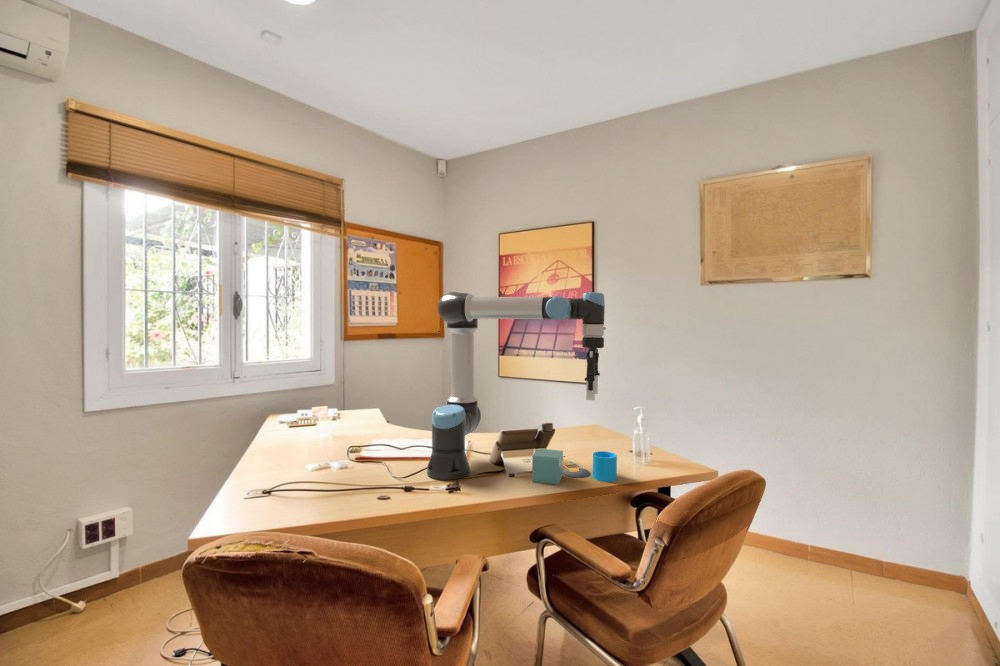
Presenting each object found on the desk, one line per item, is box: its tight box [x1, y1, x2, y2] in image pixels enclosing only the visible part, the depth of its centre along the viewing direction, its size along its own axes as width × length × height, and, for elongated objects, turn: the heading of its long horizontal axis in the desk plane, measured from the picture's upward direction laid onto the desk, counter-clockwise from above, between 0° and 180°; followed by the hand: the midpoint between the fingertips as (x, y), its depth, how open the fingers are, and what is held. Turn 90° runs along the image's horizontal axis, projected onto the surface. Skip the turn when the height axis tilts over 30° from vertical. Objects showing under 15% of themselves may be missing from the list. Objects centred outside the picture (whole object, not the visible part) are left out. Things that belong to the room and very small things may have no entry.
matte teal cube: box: [531, 448, 564, 486], centre depth 161 cm, size 9×9×9 cm
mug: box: [592, 450, 618, 483], centre depth 164 cm, size 12×8×8 cm
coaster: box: [563, 467, 591, 479], centre depth 167 cm, size 10×10×1 cm
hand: (592, 396), depth 165 cm, fingers open, 13 cm apart
